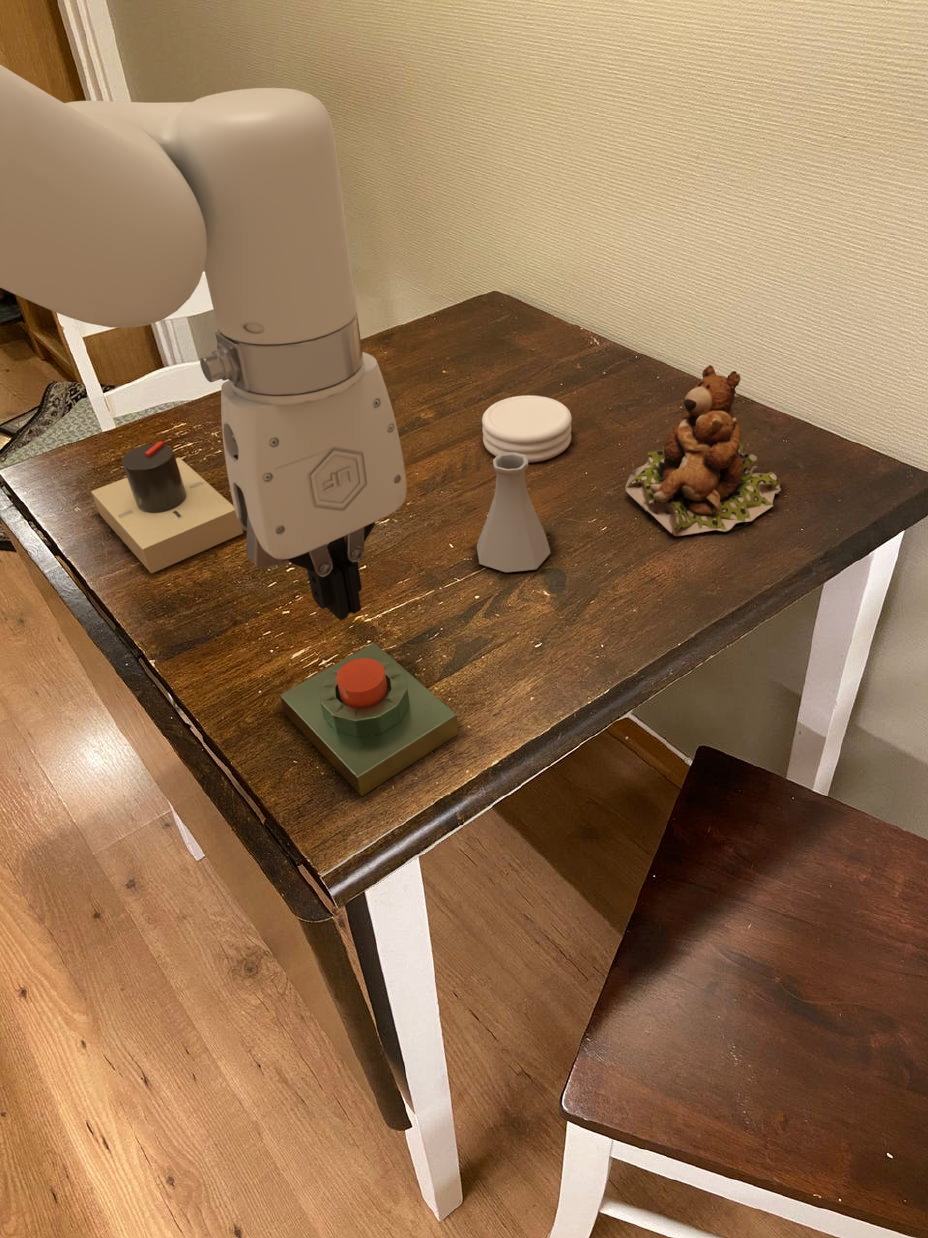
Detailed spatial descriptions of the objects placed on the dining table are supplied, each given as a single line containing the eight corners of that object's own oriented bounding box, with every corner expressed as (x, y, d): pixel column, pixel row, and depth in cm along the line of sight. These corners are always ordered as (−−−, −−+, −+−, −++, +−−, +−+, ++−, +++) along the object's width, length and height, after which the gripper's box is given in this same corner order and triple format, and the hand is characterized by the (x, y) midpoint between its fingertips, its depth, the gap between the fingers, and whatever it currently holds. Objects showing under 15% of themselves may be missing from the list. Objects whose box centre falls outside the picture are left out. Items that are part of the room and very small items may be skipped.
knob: (167, 516, 87) (151, 470, 84) (126, 508, 89) (109, 462, 86) (196, 490, 91) (182, 444, 87) (156, 483, 92) (141, 437, 89)
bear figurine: (597, 491, 92) (602, 382, 84) (704, 446, 97) (718, 339, 89) (690, 554, 83) (705, 438, 75) (802, 499, 88) (827, 386, 80)
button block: (284, 714, 70) (274, 678, 67) (377, 661, 74) (371, 625, 71) (361, 797, 63) (353, 760, 61) (459, 734, 67) (455, 697, 65)
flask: (468, 571, 83) (461, 479, 76) (484, 527, 88) (479, 438, 81) (544, 578, 81) (543, 485, 75) (556, 533, 86) (557, 443, 80)
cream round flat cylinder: (465, 441, 101) (463, 413, 99) (531, 412, 106) (531, 385, 103) (521, 474, 95) (520, 446, 93) (589, 443, 99) (590, 414, 97)
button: (330, 690, 67) (327, 673, 65) (370, 667, 68) (367, 651, 67) (357, 716, 64) (353, 699, 63) (397, 692, 66) (394, 675, 65)
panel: (99, 514, 94) (90, 489, 92) (186, 480, 99) (178, 455, 96) (151, 574, 85) (141, 547, 83) (243, 533, 90) (236, 507, 88)
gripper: (198, 417, 43) (269, 685, 55) (442, 331, 50) (458, 587, 62) (139, 369, 48) (216, 626, 60) (369, 297, 54) (397, 540, 66)
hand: (339, 605), depth 61 cm, fingers closed
